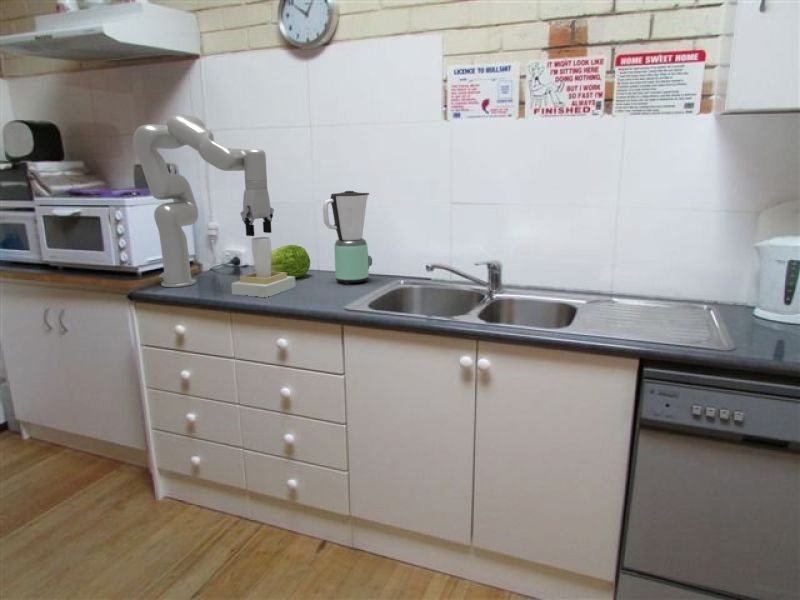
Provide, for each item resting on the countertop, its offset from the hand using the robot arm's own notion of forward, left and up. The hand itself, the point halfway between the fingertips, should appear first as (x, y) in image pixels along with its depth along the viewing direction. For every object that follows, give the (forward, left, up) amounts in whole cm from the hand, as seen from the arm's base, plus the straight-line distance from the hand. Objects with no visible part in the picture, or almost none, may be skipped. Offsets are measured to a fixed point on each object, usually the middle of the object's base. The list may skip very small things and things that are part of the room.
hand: (259, 234), depth 193 cm
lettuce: (-8, +23, -21) cm, 32 cm away
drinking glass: (0, +1, -17) cm, 17 cm away
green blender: (+24, +24, -21) cm, 40 cm away
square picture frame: (+1, 0, -21) cm, 21 cm away
